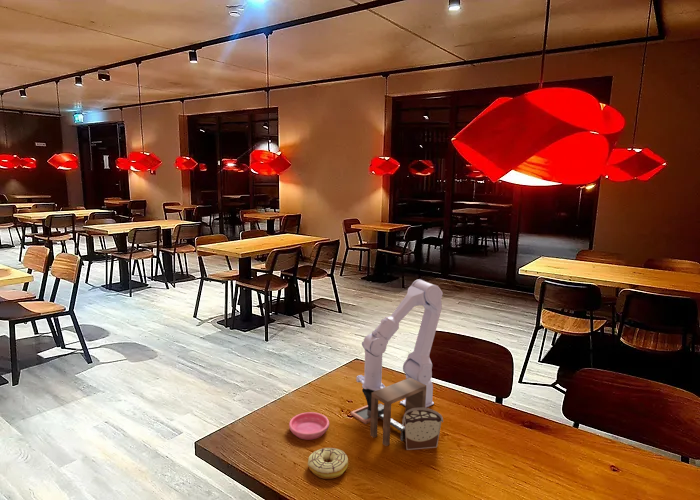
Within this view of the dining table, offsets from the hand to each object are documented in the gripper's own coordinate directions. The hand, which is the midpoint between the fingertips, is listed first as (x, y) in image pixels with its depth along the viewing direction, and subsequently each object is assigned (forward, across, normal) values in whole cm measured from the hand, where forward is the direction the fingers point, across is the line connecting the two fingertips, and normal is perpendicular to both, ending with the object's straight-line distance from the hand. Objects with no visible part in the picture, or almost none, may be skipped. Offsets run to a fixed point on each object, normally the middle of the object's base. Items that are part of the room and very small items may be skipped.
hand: (371, 408), depth 148 cm
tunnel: (+2, +12, 0) cm, 12 cm away
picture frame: (+2, -1, 0) cm, 2 cm away
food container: (+2, +20, +1) cm, 20 cm away
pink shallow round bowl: (+2, -5, -22) cm, 23 cm away
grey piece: (+1, +10, 0) cm, 10 cm away
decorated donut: (+2, +13, -28) cm, 31 cm away
